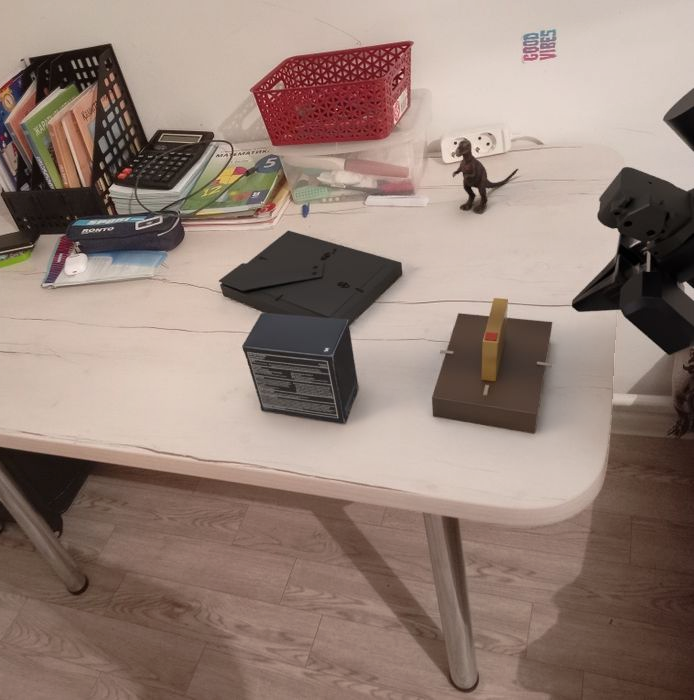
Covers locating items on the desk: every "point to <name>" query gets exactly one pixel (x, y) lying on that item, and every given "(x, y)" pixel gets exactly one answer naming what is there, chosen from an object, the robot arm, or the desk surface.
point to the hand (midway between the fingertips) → (574, 306)
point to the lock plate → (512, 378)
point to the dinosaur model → (474, 177)
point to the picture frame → (311, 279)
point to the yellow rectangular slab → (494, 339)
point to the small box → (302, 366)
